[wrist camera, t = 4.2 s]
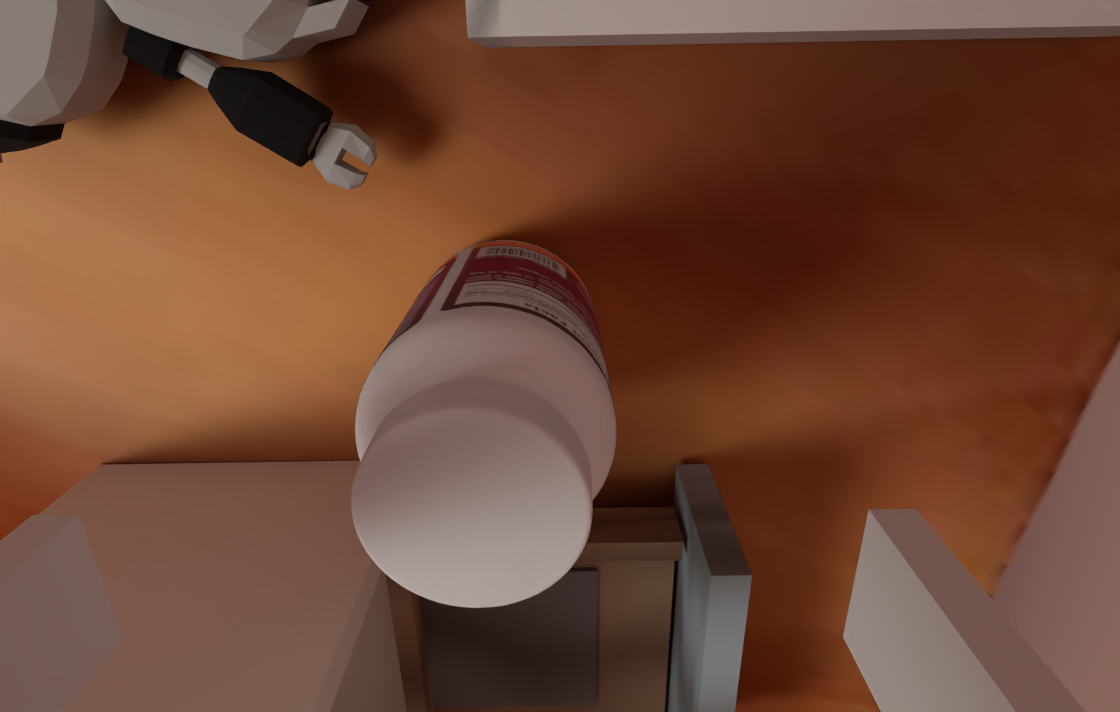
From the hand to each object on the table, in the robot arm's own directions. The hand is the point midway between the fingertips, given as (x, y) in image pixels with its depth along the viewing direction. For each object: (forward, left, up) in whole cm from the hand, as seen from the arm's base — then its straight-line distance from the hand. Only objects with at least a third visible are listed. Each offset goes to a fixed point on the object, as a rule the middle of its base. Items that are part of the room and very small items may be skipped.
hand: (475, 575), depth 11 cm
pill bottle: (0, 0, -13) cm, 13 cm away
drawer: (+12, +1, -12) cm, 17 cm away
